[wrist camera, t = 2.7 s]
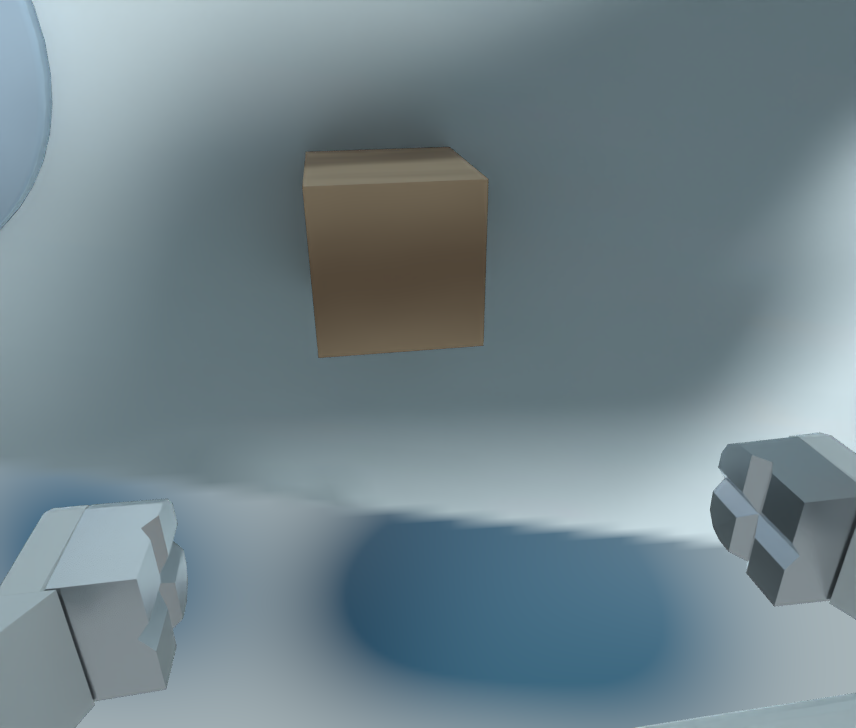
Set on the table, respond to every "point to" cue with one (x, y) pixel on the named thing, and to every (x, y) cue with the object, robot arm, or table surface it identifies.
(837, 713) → the robot arm
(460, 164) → the walnut block
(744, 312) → the table surface
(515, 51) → the table surface
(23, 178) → the dish
